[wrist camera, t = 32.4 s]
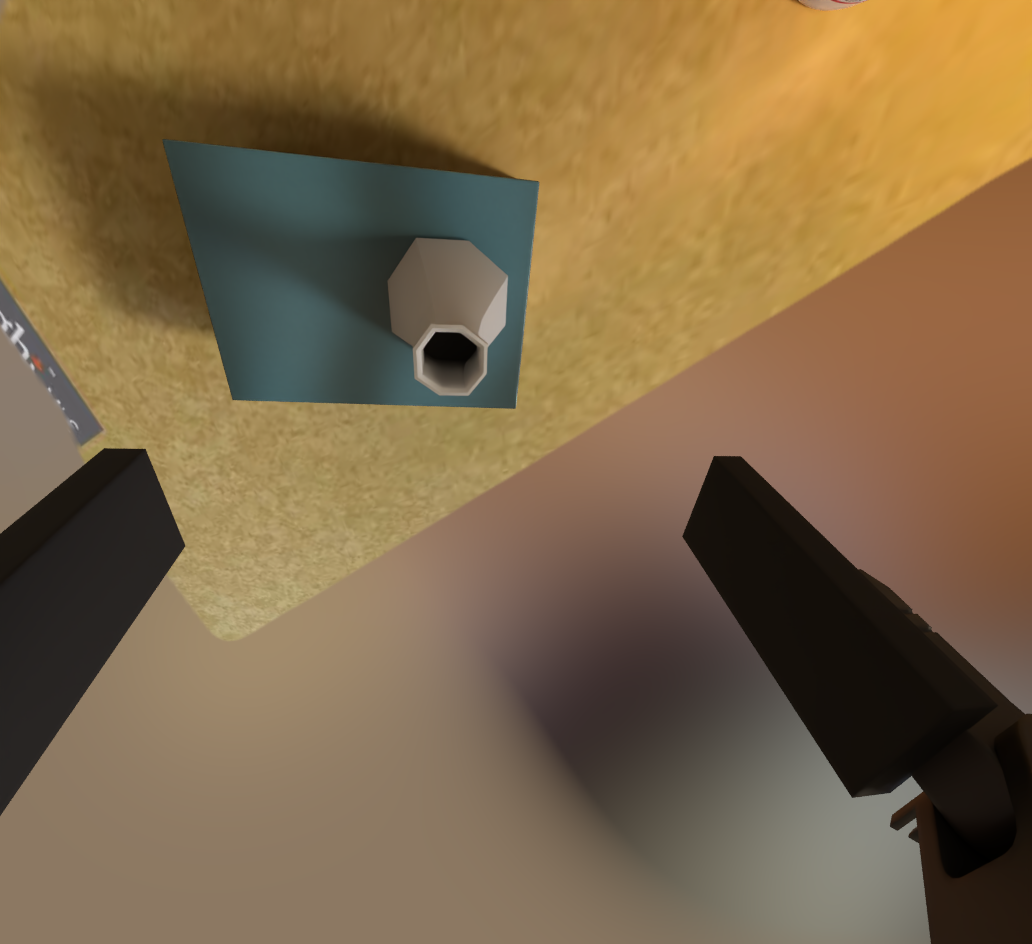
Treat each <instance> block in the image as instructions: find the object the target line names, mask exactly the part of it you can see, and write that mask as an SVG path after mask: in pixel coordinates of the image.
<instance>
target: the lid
mask: <svg viewBox="0 0 1032 944" xmlns="http://www.w3.org/2000/svg"><path fill="white" fill-rule="evenodd" d="M163 145H164V148H165V152H166V156H167V159H168V163H169V167H170V170H171V174H172V178H173V181H174V185H175V189H176V193H177V196H178V200H179V204H180V207H181V211H182V215H183V218H184V222H185V226H186V229H187V233H188V237H189V241H190V244H191V248H192V252H193V255H194V259H195V263H196V266H197V270H198V274H199V277H200V281H201V285H202V289H203V292H204V296H205V300H206V303H207V307H208V311H209V314H210V318H211V322H212V325H213V329H214V333H215V336H216V340H217V344H218V348H219V351H220V355H221V359H222V362H223V366H224V370H225V373H226V377H227V381H228V384H229V388H230V392H231V396H232V399H233V400H248V401H281V402H314V403H347V404H380V405H413V406H446V407H479V408H511V409H515V408H516V402H517V393H518V383H519V373H520V364H521V354H522V344H523V335H524V325H525V316H526V306H527V296H528V287H529V277H530V267H531V258H532V248H533V239H534V229H535V219H536V210H537V200H538V190H539V182H538V181H531V180H522V179H513V178H504V177H496V176H487V175H478V174H469V173H460V172H451V171H443V170H434V169H425V168H416V167H407V166H398V165H390V164H381V163H372V162H363V161H354V160H346V159H337V158H328V157H319V156H310V155H301V154H293V153H284V152H275V151H266V150H257V149H248V148H240V147H231V146H222V145H213V144H204V143H195V142H187V141H178V140H169V139H163ZM416 238H429V239H447V240H465V241H470V242H471V243H472V244H473V245H474V246H475V247H476V248H477V249H479V250H480V251H481V252H482V253H483V254H484V255H485V256H486V257H488V258H489V259H490V260H491V261H492V262H493V263H494V264H495V265H496V266H498V267H499V268H500V269H501V270H502V271H503V272H504V273H505V274H507V275H508V285H507V304H506V323H505V327H504V328H503V329H502V330H501V332H500V333H499V334H498V335H497V336H496V338H495V339H494V340H493V341H492V343H491V344H490V345H489V346H488V348H487V374H486V375H485V376H484V378H483V379H482V380H481V381H480V383H479V384H478V385H477V386H476V387H475V389H474V390H473V391H472V392H471V393H470V395H469V396H455V395H438V394H437V393H435V392H434V391H432V390H431V389H429V388H428V387H426V386H425V385H423V384H422V383H420V382H419V381H417V380H416V379H415V377H414V361H413V346H411V345H410V344H408V343H407V342H406V341H404V340H403V339H401V338H400V337H399V336H397V335H396V334H394V333H393V332H392V328H391V316H390V305H389V293H388V280H389V278H390V277H391V275H392V273H393V272H394V270H395V269H396V267H397V266H398V264H399V263H400V261H401V260H402V258H403V257H404V255H405V254H406V252H407V251H408V249H409V248H410V246H411V245H412V243H413V242H414V240H415V239H416Z"/></svg>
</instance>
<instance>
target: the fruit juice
mask: <svg viewBox="0 0 1032 944" xmlns="http://www.w3.org/2000/svg"><path fill="white" fill-rule="evenodd" d="M798 1H799V2H801V3H802V4H804V5H805V6H807V7H810V8H812V9H816V10H822V11H832V10H839V9H844V8H848V7H852V6H854V5H857V4H859V3H862V2H864V1H867V0H798Z"/></svg>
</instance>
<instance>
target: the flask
mask: <svg viewBox="0 0 1032 944" xmlns="http://www.w3.org/2000/svg"><path fill="white" fill-rule="evenodd" d="M507 285H508V275H507V274H505V273H504V272H503V271H502V270H501V269H500V268H499V267H498V266H496V265H495V264H494V263H493V262H492V261H491V260H490V259H489V258H488V257H486V256H485V255H484V254H483V253H482V252H481V251H480V250H479V249H477V248H476V247H475V246H474V245H473V244H472V243H471V242H470V241H465V240H447V239H429V238H416V239H415V240H414V242H413V243H412V245H411V246H410V248H409V249H408V251H407V252H406V254H405V255H404V257H403V258H402V260H401V261H400V263H399V264H398V266H397V267H396V269H395V270H394V272H393V273H392V275H391V277H390V278H389V280H388V293H389V305H390V316H391V328H392V332H393V333H394V334H396V335H397V336H399V337H400V338H401V339H403V340H404V341H406V342H407V343H408V344H410V345H411V346H413V361H414V377H415V379H416V380H417V381H419V382H420V383H422V384H423V385H425V386H426V387H428V388H429V389H431V390H432V391H434V392H435V393H437V394H438V395H455V396H469V395H470V393H471V392H472V391H473V390H474V389H475V387H476V386H477V385H478V384H479V383H480V381H481V380H482V379H483V378H484V376H485V375H486V374H487V348H488V346H489V345H490V344H491V343H492V341H493V340H494V339H495V338H496V336H497V335H498V334H499V333H500V332H501V330H502V329H503V328H504V327H505V323H506V304H507Z"/></svg>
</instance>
